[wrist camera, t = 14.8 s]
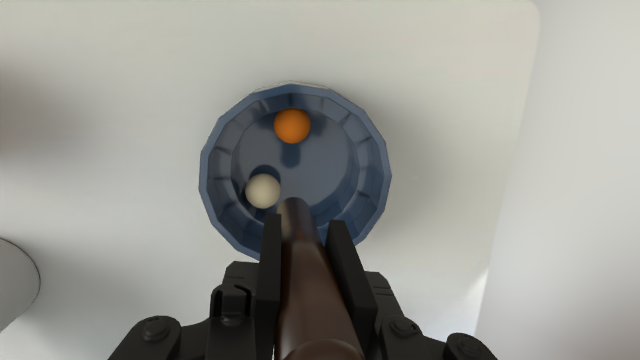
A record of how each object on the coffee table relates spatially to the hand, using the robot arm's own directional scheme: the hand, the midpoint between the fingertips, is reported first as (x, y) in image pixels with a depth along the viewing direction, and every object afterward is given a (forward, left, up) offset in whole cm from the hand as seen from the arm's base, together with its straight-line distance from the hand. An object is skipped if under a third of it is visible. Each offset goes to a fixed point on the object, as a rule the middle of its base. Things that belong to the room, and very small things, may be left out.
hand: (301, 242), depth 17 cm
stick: (+2, 0, -8) cm, 8 cm away
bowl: (0, 0, -16) cm, 16 cm away
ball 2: (-3, -1, -14) cm, 14 cm away
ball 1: (+2, -2, -14) cm, 14 cm away
